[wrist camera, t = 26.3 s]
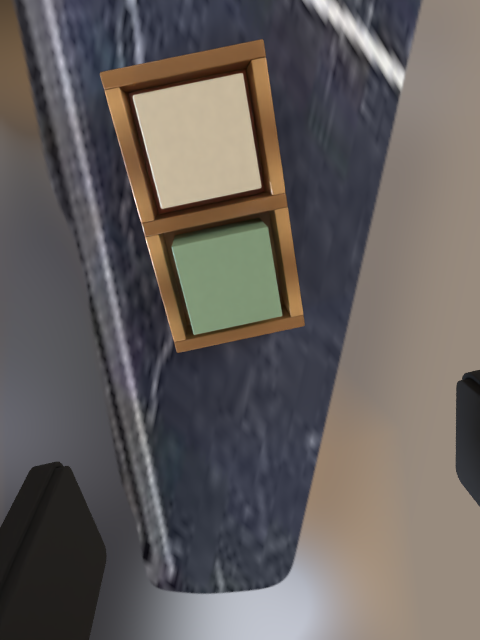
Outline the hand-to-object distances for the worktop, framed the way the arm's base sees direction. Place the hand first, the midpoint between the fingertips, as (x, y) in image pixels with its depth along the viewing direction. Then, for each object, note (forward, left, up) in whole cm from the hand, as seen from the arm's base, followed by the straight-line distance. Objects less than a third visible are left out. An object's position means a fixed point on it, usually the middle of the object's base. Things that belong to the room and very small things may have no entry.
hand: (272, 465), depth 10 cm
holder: (-4, 0, -20) cm, 20 cm away
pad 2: (0, 0, -19) cm, 19 cm away
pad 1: (-7, 0, -19) cm, 20 cm away
